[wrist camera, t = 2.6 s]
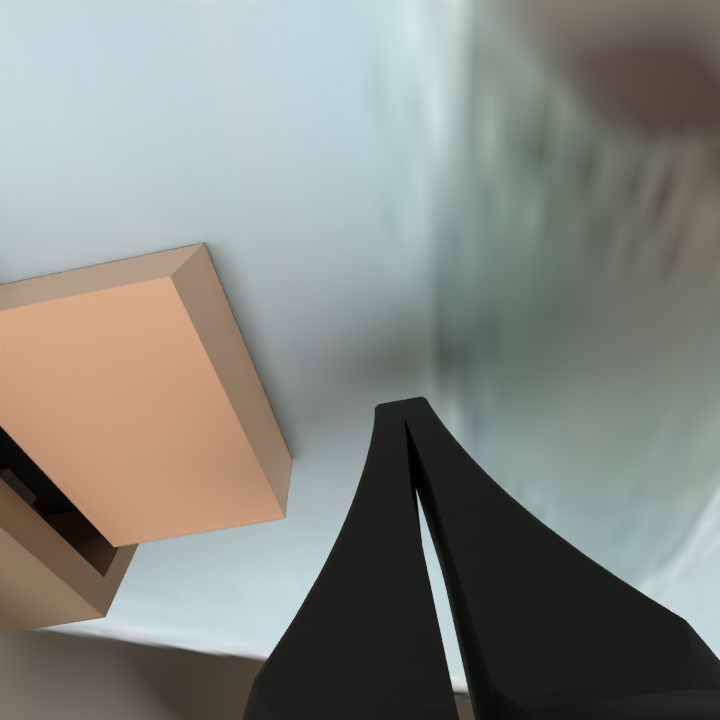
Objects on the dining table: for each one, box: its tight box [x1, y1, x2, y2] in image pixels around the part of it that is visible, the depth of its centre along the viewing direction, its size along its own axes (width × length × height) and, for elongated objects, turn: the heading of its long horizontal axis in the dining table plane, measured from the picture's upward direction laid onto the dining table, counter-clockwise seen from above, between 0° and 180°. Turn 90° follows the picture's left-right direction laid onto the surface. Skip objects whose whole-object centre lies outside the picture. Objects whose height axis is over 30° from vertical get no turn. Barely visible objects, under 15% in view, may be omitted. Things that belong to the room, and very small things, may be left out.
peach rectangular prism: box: [0, 243, 292, 547], centre depth 14 cm, size 7×10×3 cm
